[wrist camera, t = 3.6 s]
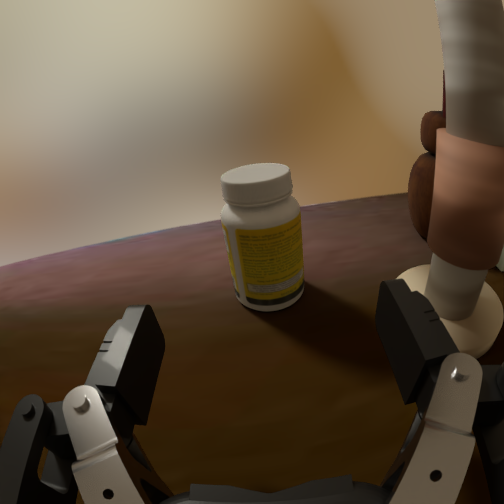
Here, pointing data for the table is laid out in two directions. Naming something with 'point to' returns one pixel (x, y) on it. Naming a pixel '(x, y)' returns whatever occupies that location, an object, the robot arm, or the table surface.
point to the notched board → (501, 261)
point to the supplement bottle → (263, 235)
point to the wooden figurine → (425, 170)
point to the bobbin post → (468, 177)
